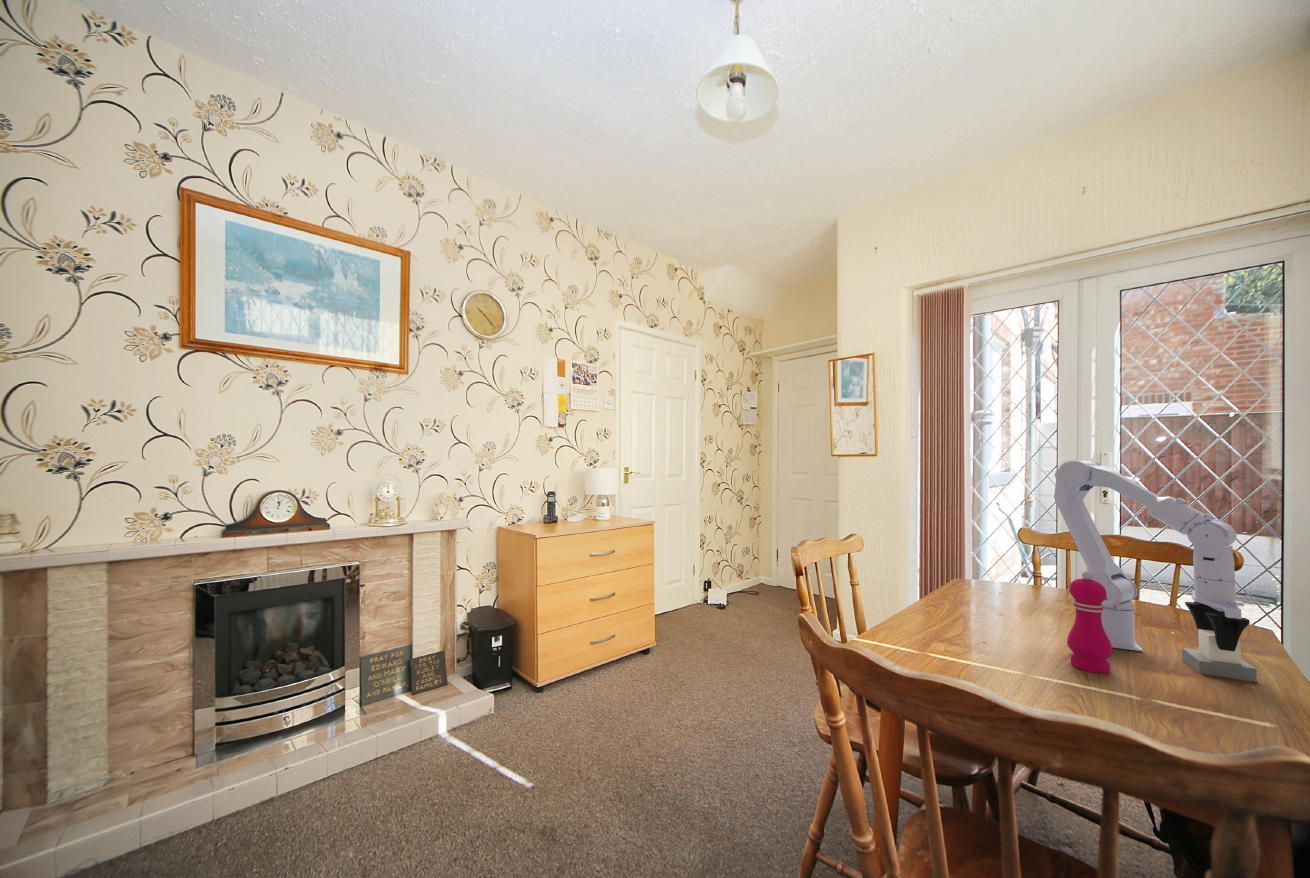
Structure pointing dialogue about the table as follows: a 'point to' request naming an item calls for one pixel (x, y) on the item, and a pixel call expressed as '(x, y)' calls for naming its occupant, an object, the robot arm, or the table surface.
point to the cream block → (1216, 648)
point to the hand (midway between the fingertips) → (1216, 643)
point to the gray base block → (1218, 666)
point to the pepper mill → (1089, 626)
